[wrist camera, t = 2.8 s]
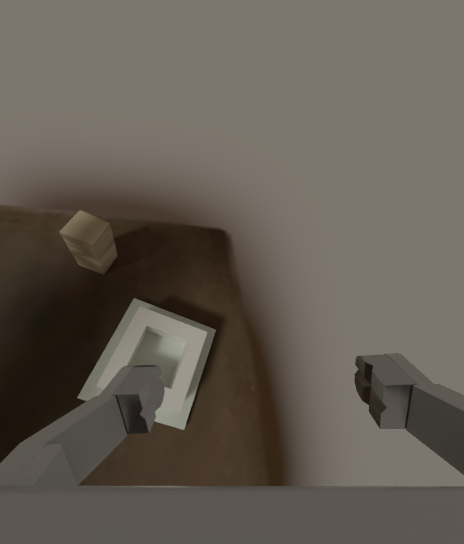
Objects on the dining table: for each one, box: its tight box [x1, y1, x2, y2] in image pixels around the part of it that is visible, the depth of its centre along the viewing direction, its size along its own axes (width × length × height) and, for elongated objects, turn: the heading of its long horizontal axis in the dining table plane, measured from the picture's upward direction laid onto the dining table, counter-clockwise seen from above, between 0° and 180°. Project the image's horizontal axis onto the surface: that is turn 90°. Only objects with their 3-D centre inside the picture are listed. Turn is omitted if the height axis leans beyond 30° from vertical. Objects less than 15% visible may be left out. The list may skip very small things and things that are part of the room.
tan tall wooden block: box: [60, 211, 118, 275], centre depth 31 cm, size 4×4×9 cm
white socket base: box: [77, 298, 216, 430], centre depth 30 cm, size 14×14×6 cm
